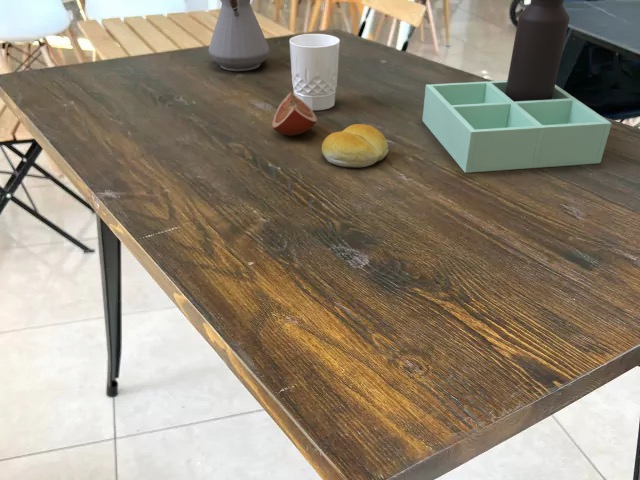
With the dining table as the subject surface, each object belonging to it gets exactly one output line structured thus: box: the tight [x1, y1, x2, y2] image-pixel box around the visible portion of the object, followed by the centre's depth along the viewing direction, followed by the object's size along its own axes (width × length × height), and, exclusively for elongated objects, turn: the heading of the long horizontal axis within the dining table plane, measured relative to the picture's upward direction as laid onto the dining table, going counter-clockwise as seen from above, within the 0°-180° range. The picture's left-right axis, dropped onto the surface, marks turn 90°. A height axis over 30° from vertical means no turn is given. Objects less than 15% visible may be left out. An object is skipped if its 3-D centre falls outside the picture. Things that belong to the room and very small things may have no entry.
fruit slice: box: [271, 91, 318, 136], centre depth 95 cm, size 8×7×5 cm
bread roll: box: [321, 123, 389, 168], centre depth 88 cm, size 8×9×4 cm
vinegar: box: [505, 0, 571, 102], centre depth 92 cm, size 7×7×20 cm
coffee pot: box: [208, 0, 271, 72], centre depth 116 cm, size 21×12×15 cm, turn 4°
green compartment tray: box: [421, 79, 613, 174], centre depth 93 cm, size 19×19×6 cm
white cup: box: [289, 33, 341, 112], centre depth 104 cm, size 8×8×10 cm
